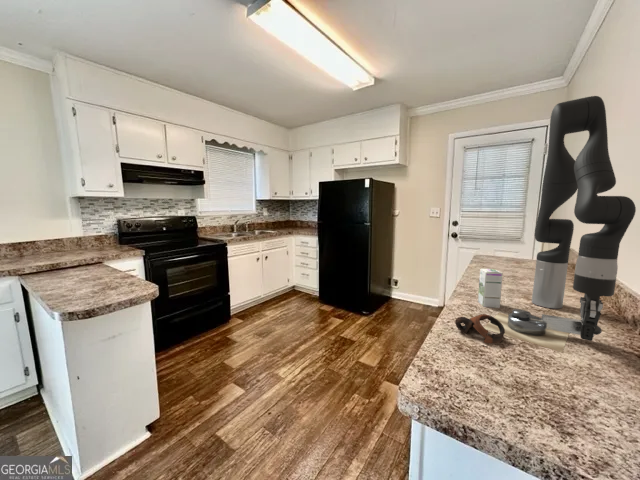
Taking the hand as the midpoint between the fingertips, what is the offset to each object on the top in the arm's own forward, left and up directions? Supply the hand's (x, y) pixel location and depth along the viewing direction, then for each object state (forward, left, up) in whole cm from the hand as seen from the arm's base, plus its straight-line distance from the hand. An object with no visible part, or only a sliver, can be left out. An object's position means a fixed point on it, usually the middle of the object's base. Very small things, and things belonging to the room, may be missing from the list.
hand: (586, 338), depth 71 cm
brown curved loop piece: (+15, -21, -3) cm, 26 cm away
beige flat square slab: (+1, -13, -3) cm, 13 cm away
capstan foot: (-1, -7, -1) cm, 7 cm away
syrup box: (-14, -27, -3) cm, 30 cm away
